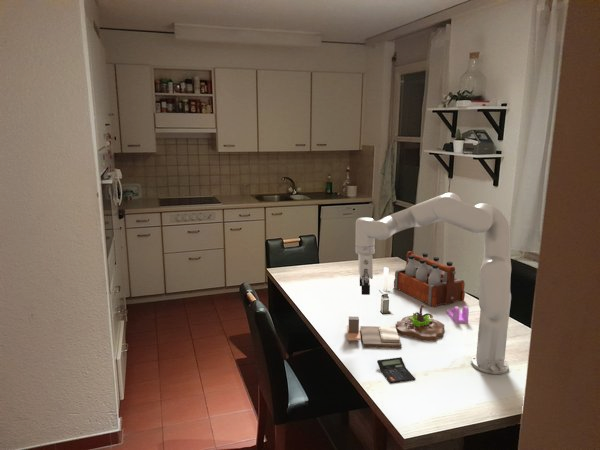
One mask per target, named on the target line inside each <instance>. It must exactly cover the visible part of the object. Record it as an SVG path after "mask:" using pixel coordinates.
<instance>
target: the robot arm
mask: <svg viewBox="0 0 600 450" xmlns="http://www.w3.org/2000/svg"><path fill="white" fill-rule="evenodd" d="M440 221H443V222H444V223H448V224H450V225H452V226H455V227H458V228H460V229H463V230H465V231H468V232H471V233H473V234H482V233H483V235H484V236H483V260H482V262H481V263H482V264H481V266H480V269H479V280H478V281H479V282H478V283H479V285H478V286H479V287H478V294H479V295H478V306H479V309H480V311H479V312H480V313H479V322H478V334H477V344H476V345H477V346H476V355H474V356H472V358H471V361H470V362H471V365H472V367H474V368H475V369H476V370H478V371H481V372H483V373H486V374H492V375H500V374H501V375H502V374H505V373H507V372H508V370H509V363H508V362H507V361H506V360H505V358H506V349H507V340H508V339H507V338H508V330H509V321H510V310H511V303H512V302H511V301H512V293H511V276H512V275H511V274H512V262H511V261H512V260H511V256H512V255H511V253H512V252H511V251H512V250H511V246H512V245H511V229H510V225H509V221H508V219H507V217H506V216H505V214H504V213H503V212H502V211H501V210H500V209H499V208H497V207H496V206H494V205H492V204H489V203H484V202H483V203H482V202H481V203H477V204H475V205H472V204H469V203H466V202H463V201H462V199H461V198H460V196H459V195H458V194H457V193H454V192H446V193H443V194H440V195H437V196H435V197H433V198H430V199H427V200H425V201H422V202H419V203H417V204H414V205H412V206H410V207H407V208H405V209H402V210H400V211H397V212H394V213H391V214H389V215H386V216H384V217H382V218H381V219H379V220H375V219H374V218H372V217H357V219H356V220H355V243H354V244H355V250H354V252H355V254H356V255H358V259H357V260H358V264H357V265H358V274H359V286H360V287H361V295H364V296H365V295H366V296H369V295H371V294H370V293H371V284H370V279H371V280H373V276H374V275H373V274H374V273H373V268H374V267H373V263H374V262H373V255H374V254H375V253H376V252H375V250H376V249H375V244H376V243H375V242H376V240H379V241H385V240H388V239H389V238H390V237H392V236H393V235H395V234H396V233H400V232H402V231H405V230H407V229H411V228H415V227H416V228H417V227H418V228H423V227H425V226H429V225H431V224H435V223H437V222H440Z"/></svg>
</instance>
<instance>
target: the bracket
mask: <svg viewBox="0 0 600 450" xmlns="http://www.w3.org/2000/svg"><path fill="white" fill-rule="evenodd" d="M469 311H470V310H469V307H468V305H467V306H462V312H461V311H460V308H459V306H453V308H448V309H447V315H448V316H449V317H450V318H451V320H452V321H453V322H454V323H455V324H464V323H465V324H467V323H468V322H469Z"/></svg>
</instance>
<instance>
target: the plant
mask: <svg viewBox="0 0 600 450" xmlns="http://www.w3.org/2000/svg"><path fill="white" fill-rule="evenodd" d="M424 308H425V304H424V303H422V304H421V305H420V308H419V312H417V311H416V312H415V313H414V312H413V313H412V315H407V316H405V317H403V318H402V319H401V320H399V321H396V323H395V326H394V327H396V329H397V332H398V335H400V336H404V337H408V338H412V339H413V338H414V339H417V340H420V341H427V342H429V341H430V342H431V341H432V342H433V341H435V342H436V341H437V339H440V338H443V336H444V331H445V324H444V323H442V322H440V321H438V320H436V319H434V315H433V314H432V313H424V314H423V309H424Z"/></svg>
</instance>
